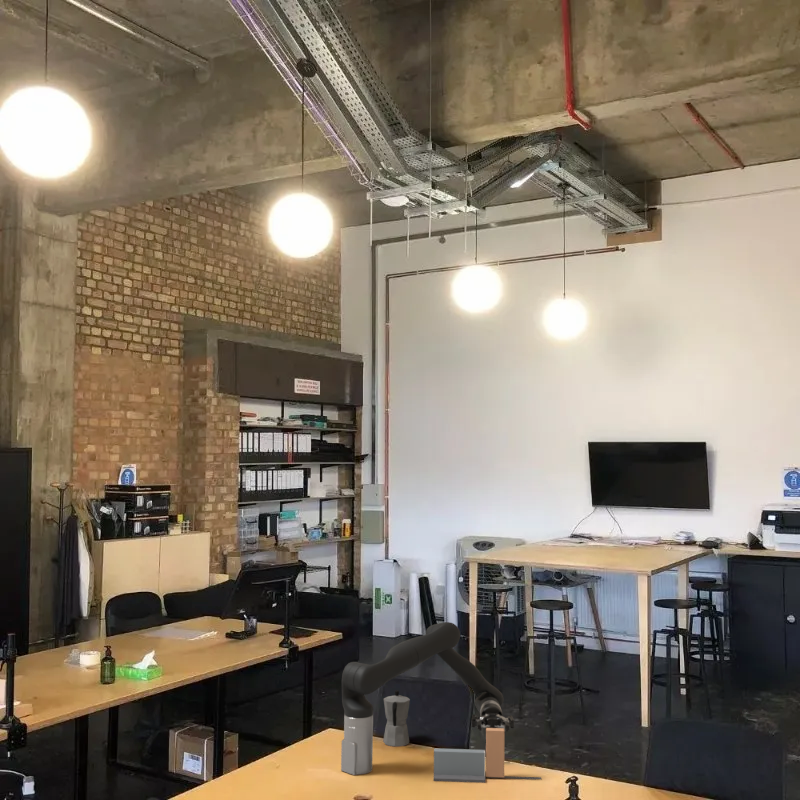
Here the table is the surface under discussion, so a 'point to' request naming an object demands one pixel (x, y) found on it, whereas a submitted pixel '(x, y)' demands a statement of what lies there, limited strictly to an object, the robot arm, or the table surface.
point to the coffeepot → (396, 720)
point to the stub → (494, 752)
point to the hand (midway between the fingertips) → (493, 728)
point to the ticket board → (462, 766)
